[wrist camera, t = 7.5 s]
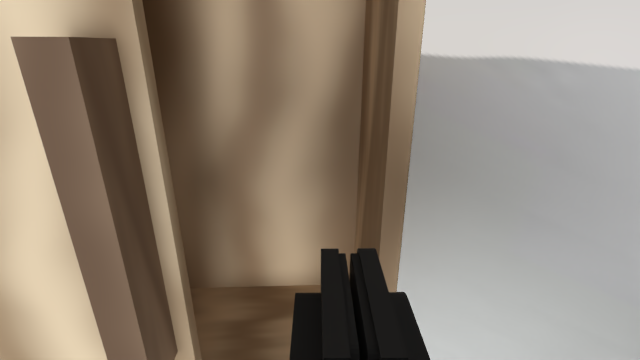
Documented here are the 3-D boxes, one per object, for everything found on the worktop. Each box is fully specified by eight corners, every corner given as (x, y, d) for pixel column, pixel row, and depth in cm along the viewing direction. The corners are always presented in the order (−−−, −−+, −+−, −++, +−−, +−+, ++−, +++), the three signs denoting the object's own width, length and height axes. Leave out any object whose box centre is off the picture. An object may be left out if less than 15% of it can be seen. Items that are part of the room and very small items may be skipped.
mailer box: (383, -37, 19) (434, -89, 12) (364, 289, 27) (387, 381, 20) (86, -40, 18) (-63, -98, 11) (156, 294, 26) (98, 392, 19)
